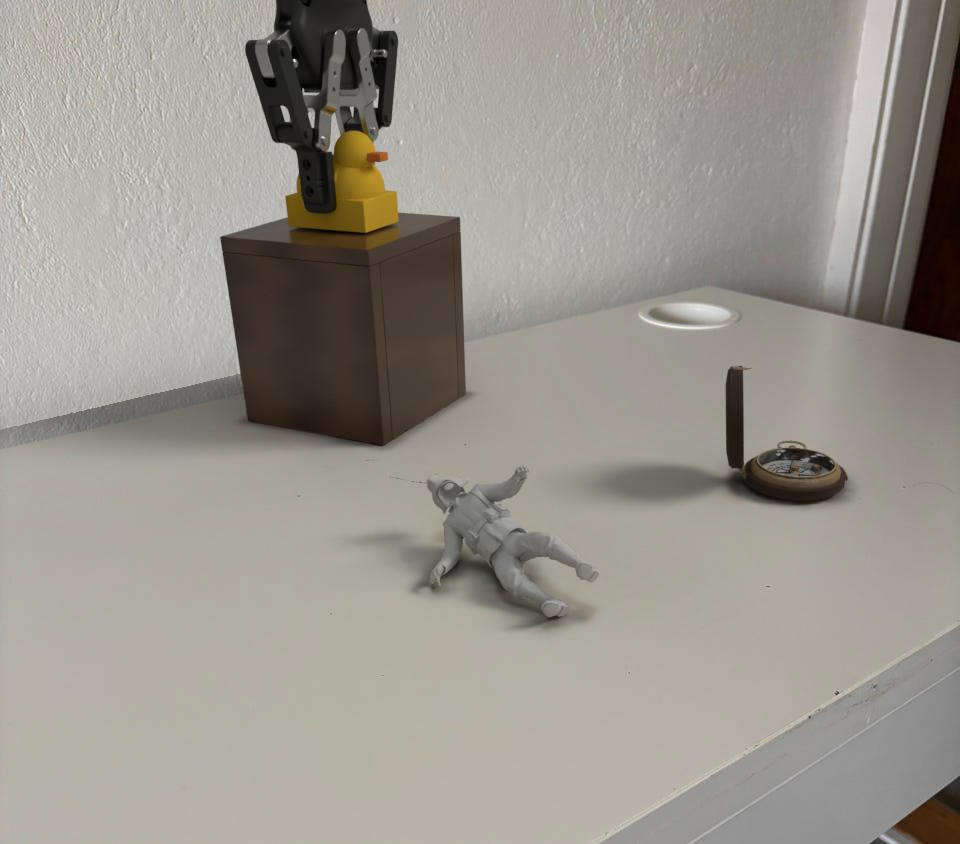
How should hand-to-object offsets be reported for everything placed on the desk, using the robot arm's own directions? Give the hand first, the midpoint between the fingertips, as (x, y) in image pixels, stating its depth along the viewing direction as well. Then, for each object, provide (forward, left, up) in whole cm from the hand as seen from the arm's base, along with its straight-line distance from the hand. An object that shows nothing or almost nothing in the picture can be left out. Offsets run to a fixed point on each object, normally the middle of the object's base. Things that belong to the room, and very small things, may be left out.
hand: (341, 204), depth 71 cm
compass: (+32, 0, -15) cm, 35 cm away
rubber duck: (0, 0, -1) cm, 1 cm away
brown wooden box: (0, 0, -14) cm, 14 cm away
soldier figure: (+22, -19, -15) cm, 33 cm away
